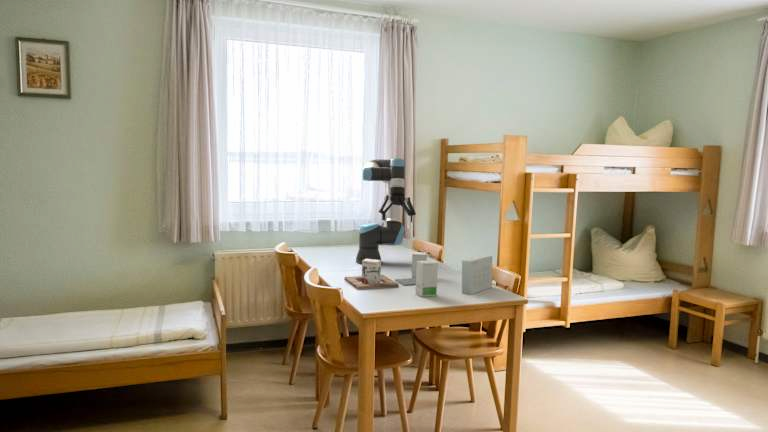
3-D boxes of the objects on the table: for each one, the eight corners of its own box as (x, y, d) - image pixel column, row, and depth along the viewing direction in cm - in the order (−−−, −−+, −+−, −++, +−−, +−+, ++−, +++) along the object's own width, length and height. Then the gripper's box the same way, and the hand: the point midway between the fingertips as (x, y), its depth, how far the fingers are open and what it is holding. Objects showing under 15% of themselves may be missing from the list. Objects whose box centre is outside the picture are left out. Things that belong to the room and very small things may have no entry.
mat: (394, 280, 275) (394, 279, 275) (416, 279, 280) (416, 277, 280) (403, 285, 264) (403, 284, 264) (425, 284, 268) (425, 283, 268)
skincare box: (421, 297, 243) (422, 263, 241) (414, 293, 249) (415, 260, 247) (437, 295, 246) (438, 262, 245) (430, 292, 252) (431, 259, 251)
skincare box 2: (482, 285, 269) (483, 254, 268) (492, 287, 266) (493, 255, 264) (460, 292, 253) (461, 259, 251) (470, 295, 250) (471, 261, 248)
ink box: (360, 283, 267) (361, 260, 265) (364, 281, 271) (365, 258, 270) (377, 285, 264) (377, 261, 263) (380, 283, 268) (381, 260, 267)
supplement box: (425, 278, 281) (425, 254, 280) (411, 277, 283) (411, 253, 281) (426, 275, 289) (427, 252, 287) (413, 274, 290) (413, 251, 289)
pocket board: (344, 279, 274) (344, 277, 273) (383, 277, 281) (383, 274, 281) (357, 289, 254) (357, 286, 254) (398, 286, 262) (398, 283, 261)
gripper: (378, 183, 275) (377, 224, 271) (421, 188, 285) (422, 228, 281) (372, 186, 282) (372, 226, 278) (415, 191, 291) (415, 230, 288)
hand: (397, 227), depth 279 cm, fingers open, 13 cm apart
